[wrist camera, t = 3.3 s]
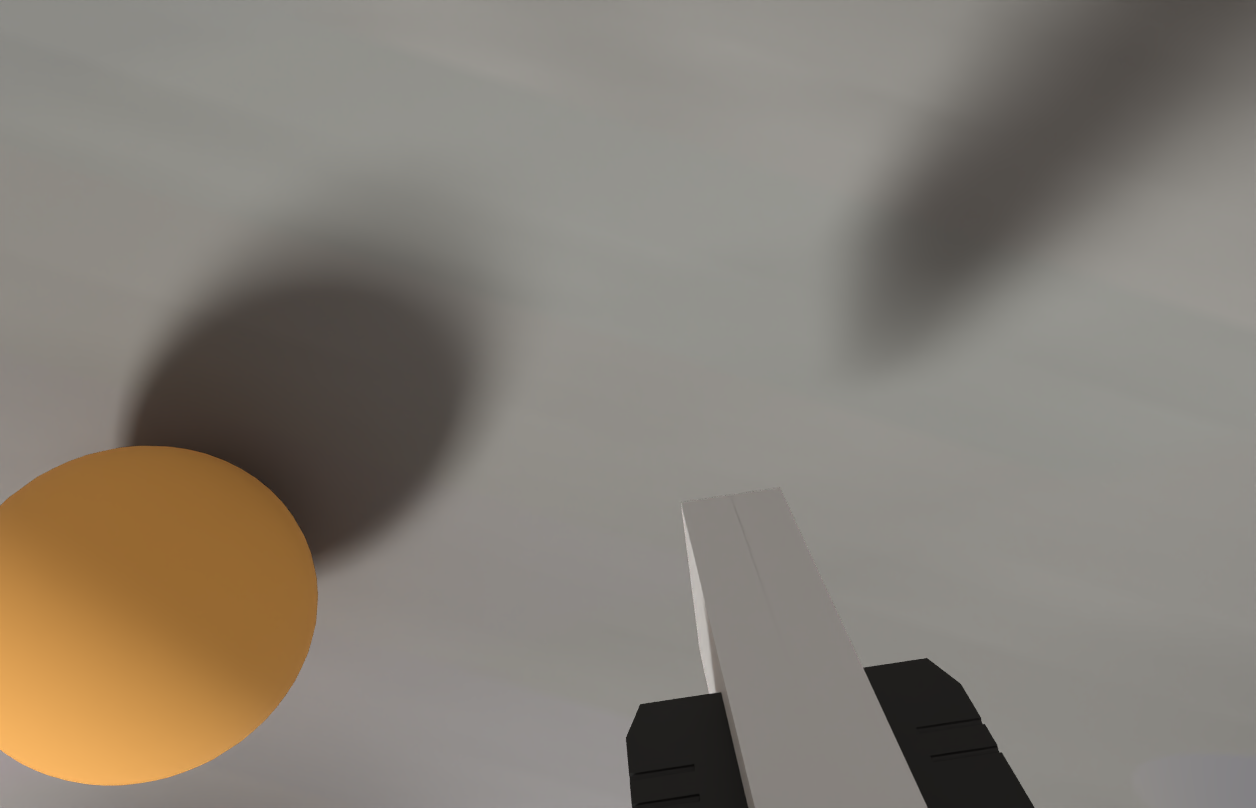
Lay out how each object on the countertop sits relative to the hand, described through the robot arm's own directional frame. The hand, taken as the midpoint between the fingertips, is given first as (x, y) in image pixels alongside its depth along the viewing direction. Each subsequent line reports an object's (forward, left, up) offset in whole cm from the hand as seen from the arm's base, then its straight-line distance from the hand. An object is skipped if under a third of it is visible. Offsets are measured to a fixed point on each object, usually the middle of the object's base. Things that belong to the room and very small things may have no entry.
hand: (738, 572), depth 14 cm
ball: (-10, 0, -2) cm, 10 cm away
